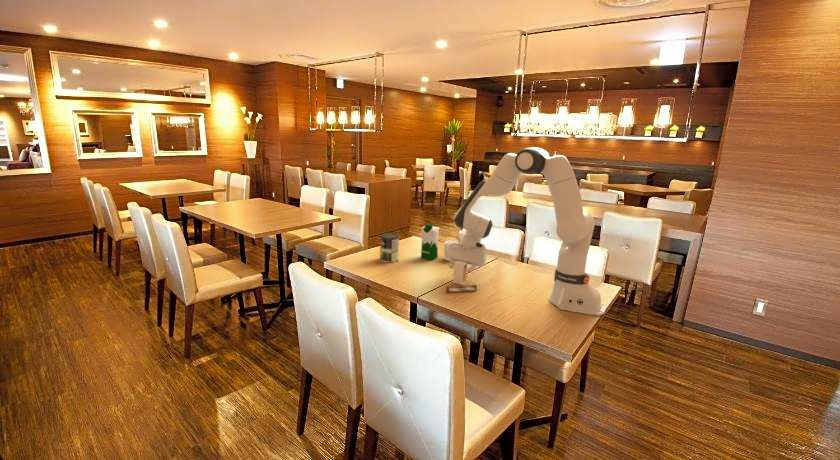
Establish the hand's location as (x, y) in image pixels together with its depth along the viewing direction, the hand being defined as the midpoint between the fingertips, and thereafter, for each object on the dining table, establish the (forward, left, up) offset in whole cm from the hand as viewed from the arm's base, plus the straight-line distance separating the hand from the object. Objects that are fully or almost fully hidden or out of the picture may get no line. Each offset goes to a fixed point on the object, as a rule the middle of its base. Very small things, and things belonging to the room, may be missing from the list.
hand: (459, 270), depth 183 cm
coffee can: (+47, -8, -6) cm, 48 cm away
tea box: (0, 0, -6) cm, 6 cm away
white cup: (+20, -30, -6) cm, 37 cm away
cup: (+16, -45, -6) cm, 48 cm away
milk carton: (+31, -25, -6) cm, 40 cm away
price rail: (-6, +9, -6) cm, 13 cm away
